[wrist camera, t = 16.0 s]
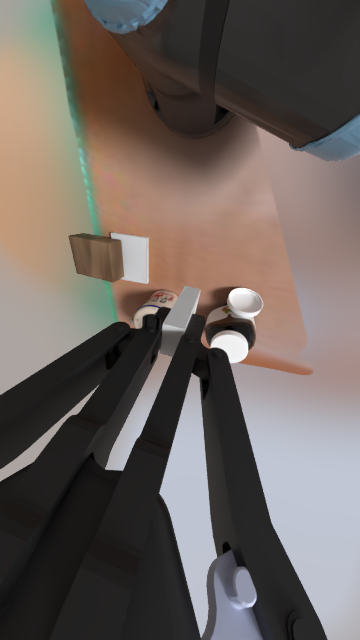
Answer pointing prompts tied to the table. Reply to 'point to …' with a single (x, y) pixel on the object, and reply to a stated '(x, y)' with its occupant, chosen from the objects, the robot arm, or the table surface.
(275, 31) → the robot arm
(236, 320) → the spread jar
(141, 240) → the grey board
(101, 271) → the walnut slab
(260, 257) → the table surface
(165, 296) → the teacup with lid
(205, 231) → the table surface
